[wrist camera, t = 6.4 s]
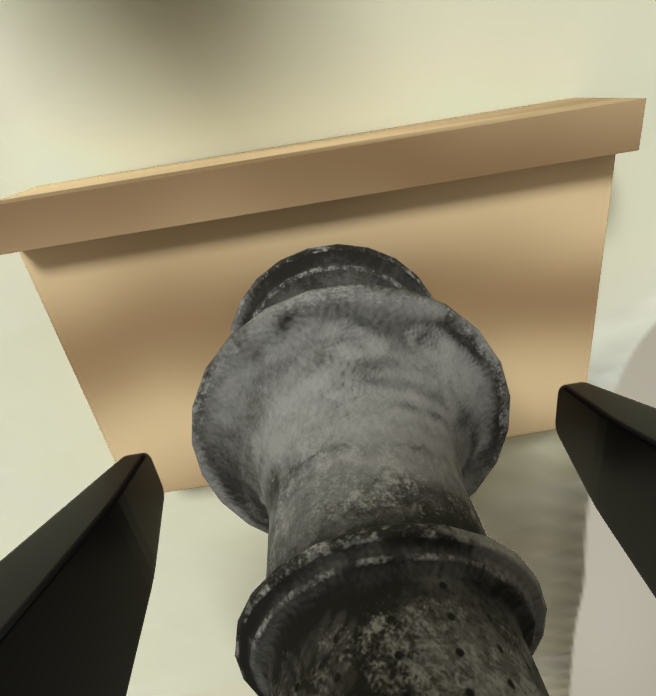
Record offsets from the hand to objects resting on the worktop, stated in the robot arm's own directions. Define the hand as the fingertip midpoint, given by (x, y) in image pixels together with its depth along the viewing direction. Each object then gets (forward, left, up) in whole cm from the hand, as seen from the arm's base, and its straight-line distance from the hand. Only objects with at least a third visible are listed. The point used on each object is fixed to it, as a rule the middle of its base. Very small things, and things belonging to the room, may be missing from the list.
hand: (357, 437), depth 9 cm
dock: (0, 0, -6) cm, 6 cm away
